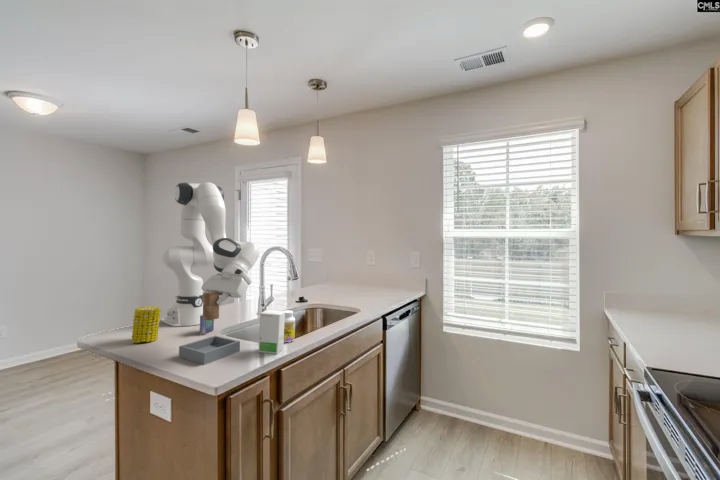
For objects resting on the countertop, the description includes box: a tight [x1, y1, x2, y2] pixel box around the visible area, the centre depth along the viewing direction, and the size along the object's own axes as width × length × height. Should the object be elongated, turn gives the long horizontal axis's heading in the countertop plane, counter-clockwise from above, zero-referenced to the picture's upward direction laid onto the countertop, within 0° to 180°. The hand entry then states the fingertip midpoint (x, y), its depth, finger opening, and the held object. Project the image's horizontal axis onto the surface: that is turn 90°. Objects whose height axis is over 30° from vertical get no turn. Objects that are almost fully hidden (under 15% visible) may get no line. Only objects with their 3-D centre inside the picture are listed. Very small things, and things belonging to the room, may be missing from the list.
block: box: [203, 291, 220, 321], centre depth 129 cm, size 4×4×10 cm
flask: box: [199, 314, 215, 336], centre depth 156 cm, size 9×3×11 cm, turn 172°
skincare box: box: [257, 309, 285, 355], centre depth 134 cm, size 8×7×16 cm
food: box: [131, 305, 161, 344], centre depth 143 cm, size 15×12×10 cm
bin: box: [178, 335, 241, 365], centre depth 129 cm, size 14×16×4 cm
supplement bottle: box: [283, 309, 296, 344], centre depth 147 cm, size 7×7×13 cm
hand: (212, 303), depth 129 cm, fingers closed on block, 4 cm apart
